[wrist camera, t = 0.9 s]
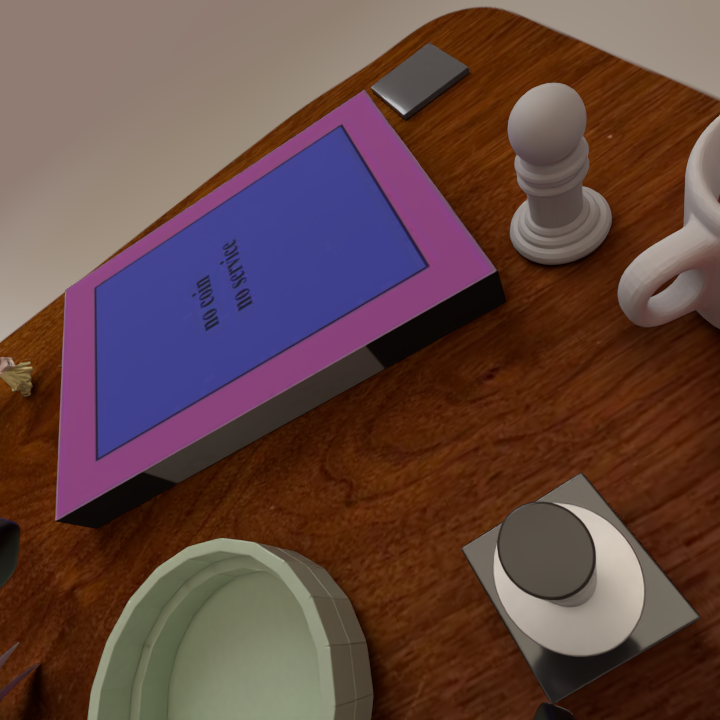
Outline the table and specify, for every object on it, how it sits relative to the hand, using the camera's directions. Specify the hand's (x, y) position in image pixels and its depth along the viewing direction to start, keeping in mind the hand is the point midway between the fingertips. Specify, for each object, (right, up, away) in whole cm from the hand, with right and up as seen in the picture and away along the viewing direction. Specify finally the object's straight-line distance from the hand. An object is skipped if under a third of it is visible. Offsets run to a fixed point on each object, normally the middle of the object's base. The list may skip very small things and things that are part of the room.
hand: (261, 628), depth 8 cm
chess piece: (+13, +12, +20) cm, 27 cm away
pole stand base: (+10, -5, +12) cm, 17 cm away
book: (-6, +8, +28) cm, 30 cm away
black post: (+10, -4, +11) cm, 15 cm away
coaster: (+6, +27, +31) cm, 42 cm away
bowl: (-3, -11, +15) cm, 19 cm away
